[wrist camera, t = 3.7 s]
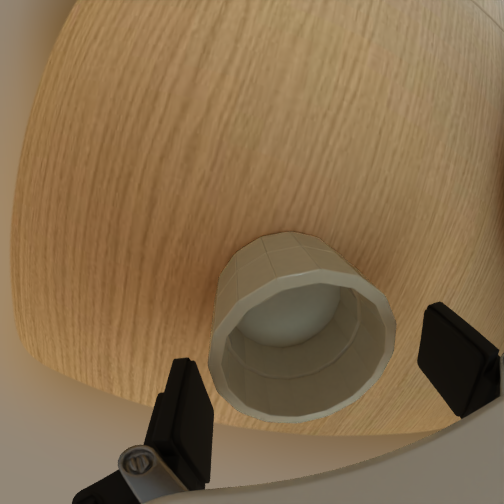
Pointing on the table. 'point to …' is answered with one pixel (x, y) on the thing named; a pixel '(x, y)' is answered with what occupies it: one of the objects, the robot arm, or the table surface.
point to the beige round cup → (296, 330)
